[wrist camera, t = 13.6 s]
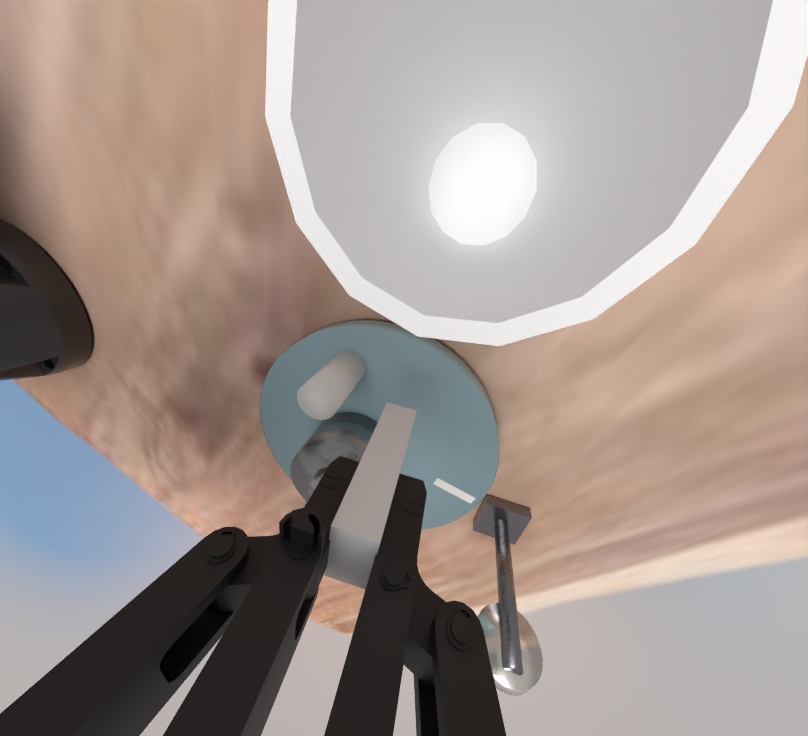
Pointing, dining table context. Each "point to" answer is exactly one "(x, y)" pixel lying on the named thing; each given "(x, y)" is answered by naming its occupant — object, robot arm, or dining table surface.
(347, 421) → the cover
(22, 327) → the robot arm
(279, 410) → the turntable
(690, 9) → the foam cup
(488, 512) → the dial stand
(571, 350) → the dining table surface
